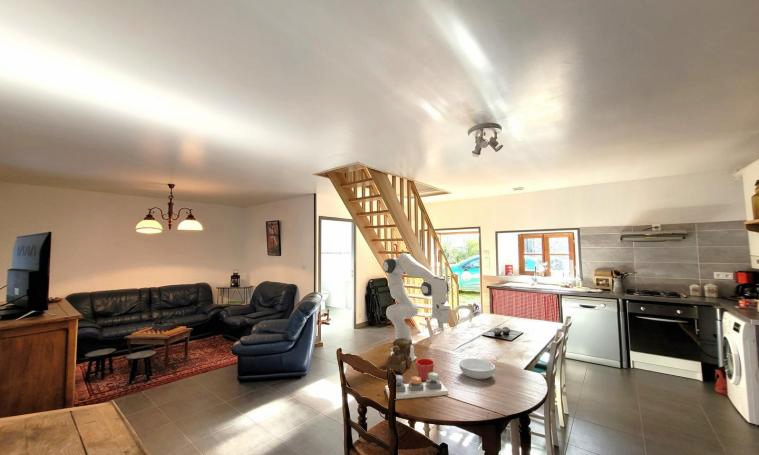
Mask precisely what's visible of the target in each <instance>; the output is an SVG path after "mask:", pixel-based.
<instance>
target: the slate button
mask: <svg viewBox="0 0 759 455" xmlns="http://www.w3.org/2000/svg"><path fill="white" fill-rule="evenodd" d="M395 375H396V380H397V386H400V383H402V382H403V383H404V377H403V375H400V374H395Z"/></svg>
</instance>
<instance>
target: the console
mask: <svg viewBox="0 0 759 455" xmlns="http://www.w3.org/2000/svg"><path fill="white" fill-rule="evenodd" d="M384 386H385V387H384V388H385V389H386V390H385V391H386V395H387V398H388V399H389V388H388V385H386V384H385V385H384ZM447 395H449V390H448V389H447V387H445V385H444V384H443V383H442V381H441V380H440V381H439V379H438V380H436V383H432V380H426V381H423V382H422V381H421V384H418V385H414V384H412V383H411V380H409V381H408V383H404V381H403V382H402V383H400V386H397V393H396V399H395V400H400V399H401V400H403V399H412V398H424V397H437V396H447Z"/></svg>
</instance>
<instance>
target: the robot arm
mask: <svg viewBox="0 0 759 455" xmlns="http://www.w3.org/2000/svg"><path fill="white" fill-rule="evenodd" d="M382 268H383V271H384V272H385V273H386V274H387V282H388V287H389V291H390V292H389V293H390V296H391V298H392V299H394V300H396V301H397V303H394V304H392V305H388V306H387V308H386V311H385V315H386V318H387V319H388V320H390V321H391V323H392V325H393V328H394V333H395V334H394V341H395V340H397V339H409V340H412V330H411V326H410V325H408V324H406V321H405V320H407V319H411V318H415V317H416V316H418V314H419V307H418V305H417V303H415V302H413V301H412V299H410V297H409V296H408V292H407V290H406V288H405V283H404V280H403V275H407V276H408V277H412V278H420V279H425V280H426V281H423V282H422V283H421V286H420V291H421V294H422V295H423V296H424V297H431V299H432V300H431V305H432V306H431V307H432V308H431V315H432V317H433V318H435V319H436V321H437V326H438V328H439V329H443V328H444V327H443V326H444V324H449V323H450V319H451V317H450V312H451V311H450V310H451V305H450V304H449V302H448V297H447V294H448V293H449V290H450V286H449V284H448V282H447V281H446V278H445V277H444V276H442V275H441V276H439V275H436V274H435V273H434V272H433V271H431V270H430V269H429V268H428V267H426V266H424V265H423V264H420V263H419V262H418V261H417V260H416V259H415V258H414V257H413V256H411V255H410V254H408V253H407V252H406V253H405V252H403V253H400V254H399V255H398V257H393V258H387V259H385V260H384V262H383V264H382ZM392 346H393V345H392ZM393 347H394V346H393ZM393 347H391V348H390V356H391V355H392V354H394V352H393V350H392V349H393ZM410 347H411V349H410V357H411V359H412V362H414V360H418V359H417V356H416V355H415V346H413V344H412V345H411V346H410ZM390 356H389V357H390Z"/></svg>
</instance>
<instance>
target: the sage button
mask: <svg viewBox="0 0 759 455" xmlns="http://www.w3.org/2000/svg"><path fill="white" fill-rule="evenodd" d="M428 378H429V379H430V380H432V383H436V380H439V373H438V372H434V371H433V372H431V373H429V374H428Z"/></svg>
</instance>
